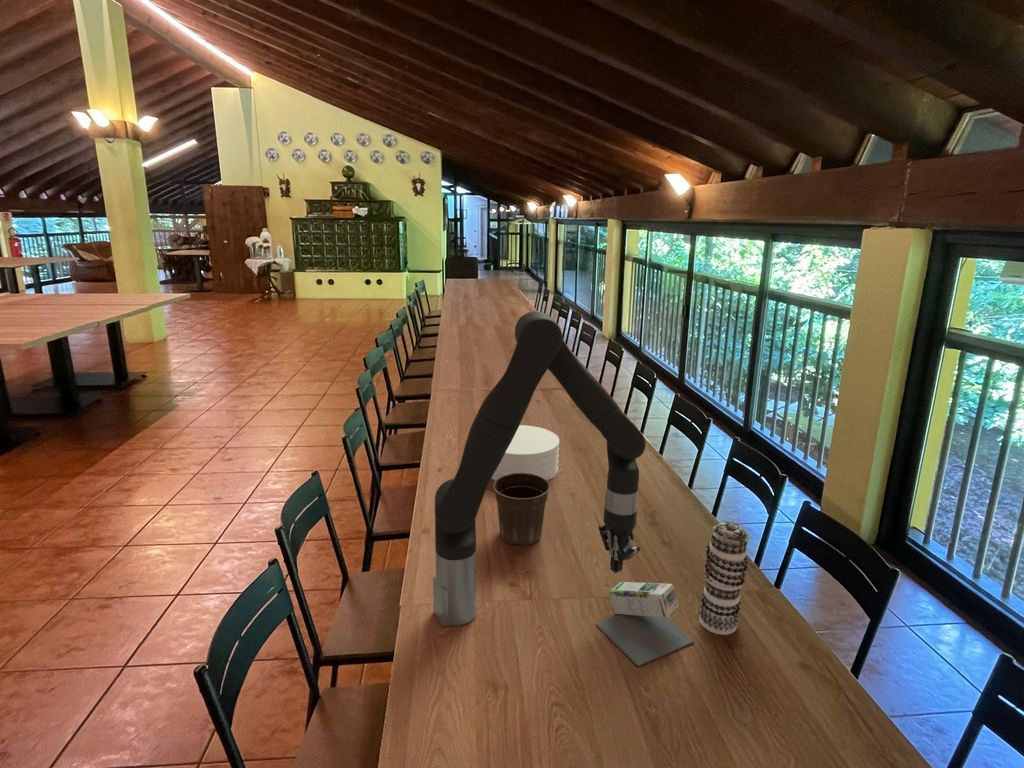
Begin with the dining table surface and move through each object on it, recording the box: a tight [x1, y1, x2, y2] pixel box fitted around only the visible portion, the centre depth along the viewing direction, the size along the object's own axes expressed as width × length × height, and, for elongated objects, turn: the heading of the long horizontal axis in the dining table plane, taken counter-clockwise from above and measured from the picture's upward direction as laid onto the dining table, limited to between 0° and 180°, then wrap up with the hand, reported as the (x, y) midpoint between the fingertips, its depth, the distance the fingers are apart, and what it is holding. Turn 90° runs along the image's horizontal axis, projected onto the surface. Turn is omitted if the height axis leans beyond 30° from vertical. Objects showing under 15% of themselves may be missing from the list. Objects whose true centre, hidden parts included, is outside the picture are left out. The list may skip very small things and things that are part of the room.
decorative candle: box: [698, 521, 751, 636], centre depth 141 cm, size 9×9×25 cm
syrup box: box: [608, 581, 679, 619], centre depth 143 cm, size 6×6×14 cm
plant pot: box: [492, 473, 551, 546], centre depth 178 cm, size 16×16×16 cm
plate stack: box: [491, 424, 560, 481], centre depth 223 cm, size 28×28×12 cm
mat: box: [595, 614, 695, 668], centre depth 140 cm, size 16×15×1 cm
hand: (616, 570), depth 147 cm, fingers closed
